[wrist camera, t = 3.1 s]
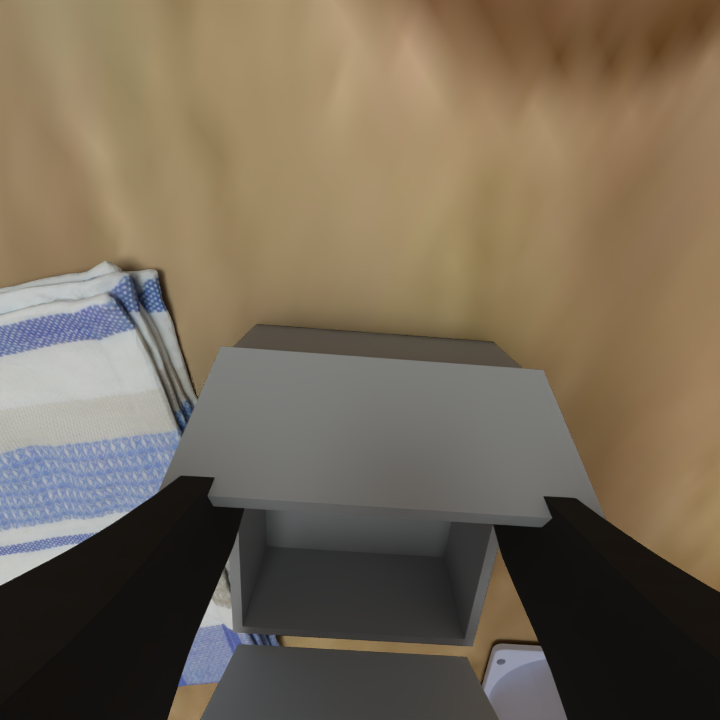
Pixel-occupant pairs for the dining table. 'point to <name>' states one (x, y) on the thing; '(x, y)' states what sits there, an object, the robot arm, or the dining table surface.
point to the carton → (362, 537)
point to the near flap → (380, 439)
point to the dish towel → (94, 425)
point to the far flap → (346, 686)
